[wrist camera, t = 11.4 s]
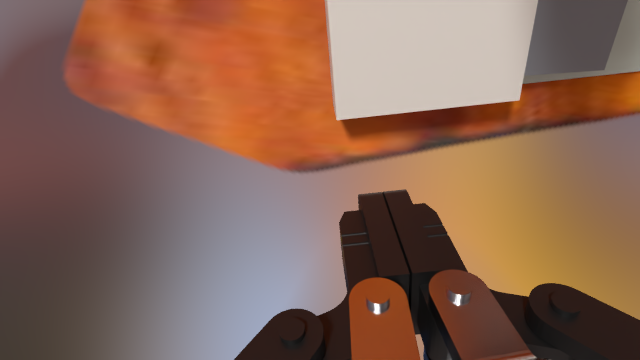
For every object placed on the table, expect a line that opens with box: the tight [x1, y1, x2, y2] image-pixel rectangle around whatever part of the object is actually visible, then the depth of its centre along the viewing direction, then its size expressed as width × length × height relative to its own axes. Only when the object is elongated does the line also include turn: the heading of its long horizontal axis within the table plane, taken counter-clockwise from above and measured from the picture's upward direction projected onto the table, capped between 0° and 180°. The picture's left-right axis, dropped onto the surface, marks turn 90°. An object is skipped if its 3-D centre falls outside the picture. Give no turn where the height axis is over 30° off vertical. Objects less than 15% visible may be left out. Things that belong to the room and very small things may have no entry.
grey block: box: [524, 0, 628, 76], centre depth 32 cm, size 8×8×2 cm
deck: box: [325, 0, 538, 120], centre depth 31 cm, size 16×12×4 cm
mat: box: [523, 0, 640, 84], centre depth 33 cm, size 16×12×1 cm
